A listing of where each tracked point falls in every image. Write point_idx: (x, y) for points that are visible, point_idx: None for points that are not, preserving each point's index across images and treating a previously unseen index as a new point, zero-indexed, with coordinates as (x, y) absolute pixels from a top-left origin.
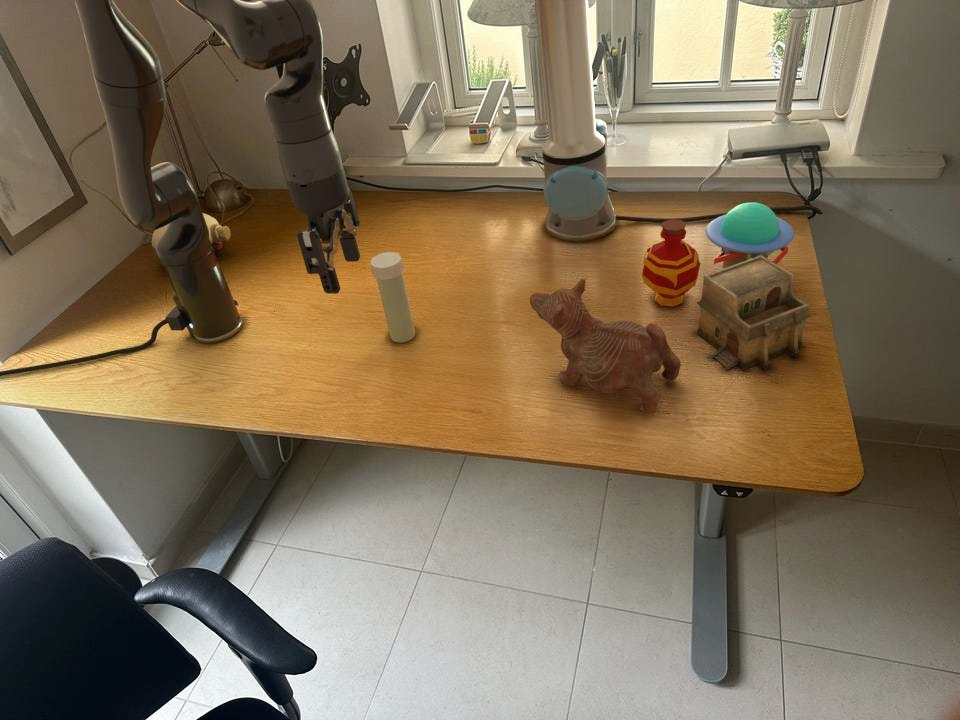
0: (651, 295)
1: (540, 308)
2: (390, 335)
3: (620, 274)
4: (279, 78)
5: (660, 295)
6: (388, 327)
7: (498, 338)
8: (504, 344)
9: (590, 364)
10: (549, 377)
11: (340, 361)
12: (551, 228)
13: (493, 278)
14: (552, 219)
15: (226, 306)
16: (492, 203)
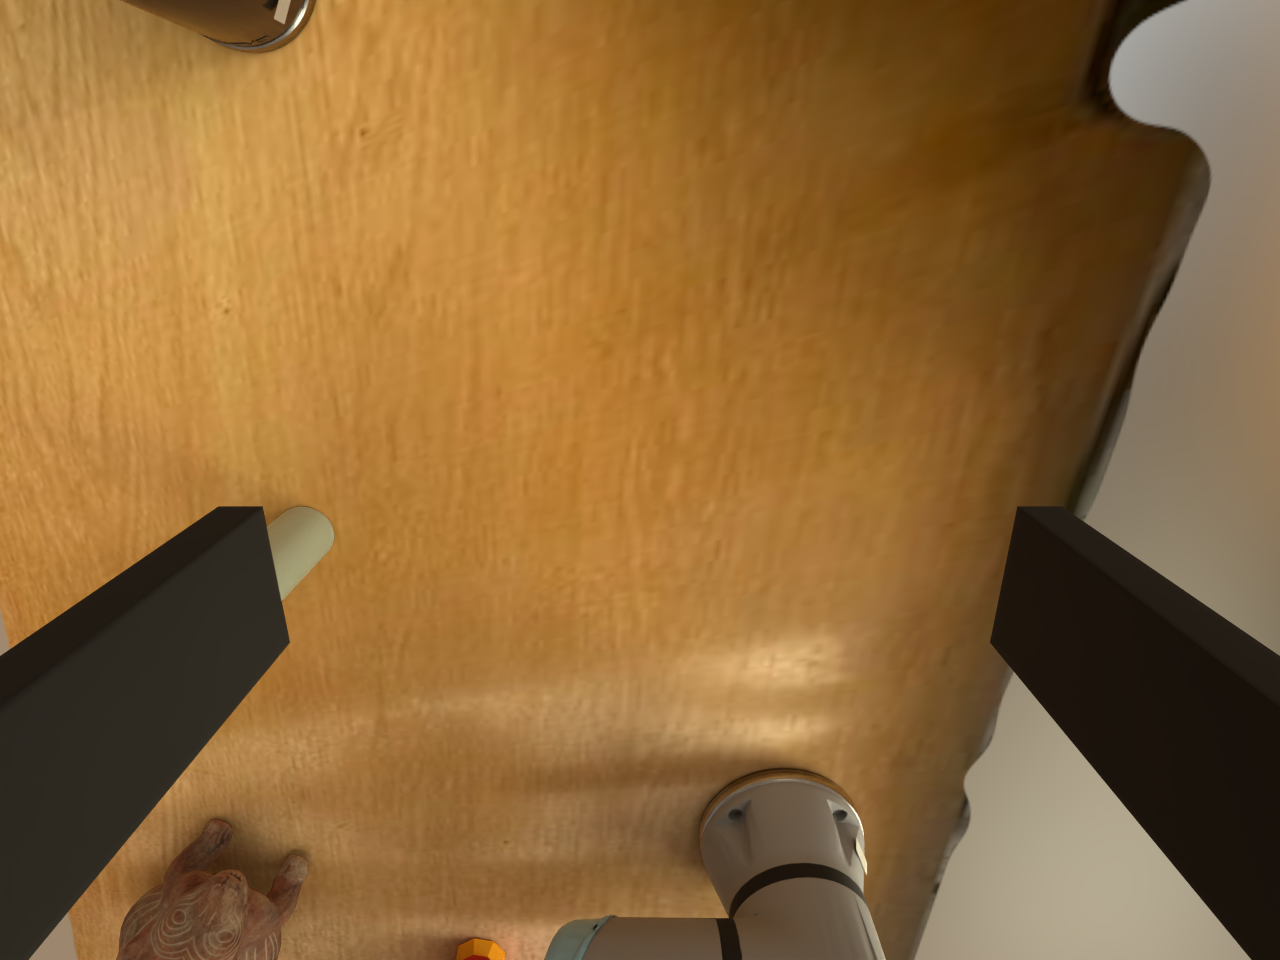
0: (492, 933)
1: (191, 901)
2: (283, 513)
3: (564, 893)
4: (191, 526)
5: (469, 956)
6: (273, 521)
7: (326, 715)
8: (308, 727)
9: (131, 927)
10: (228, 800)
11: (184, 413)
12: (737, 796)
13: (550, 682)
14: (748, 813)
15: (177, 23)
16: (946, 638)
